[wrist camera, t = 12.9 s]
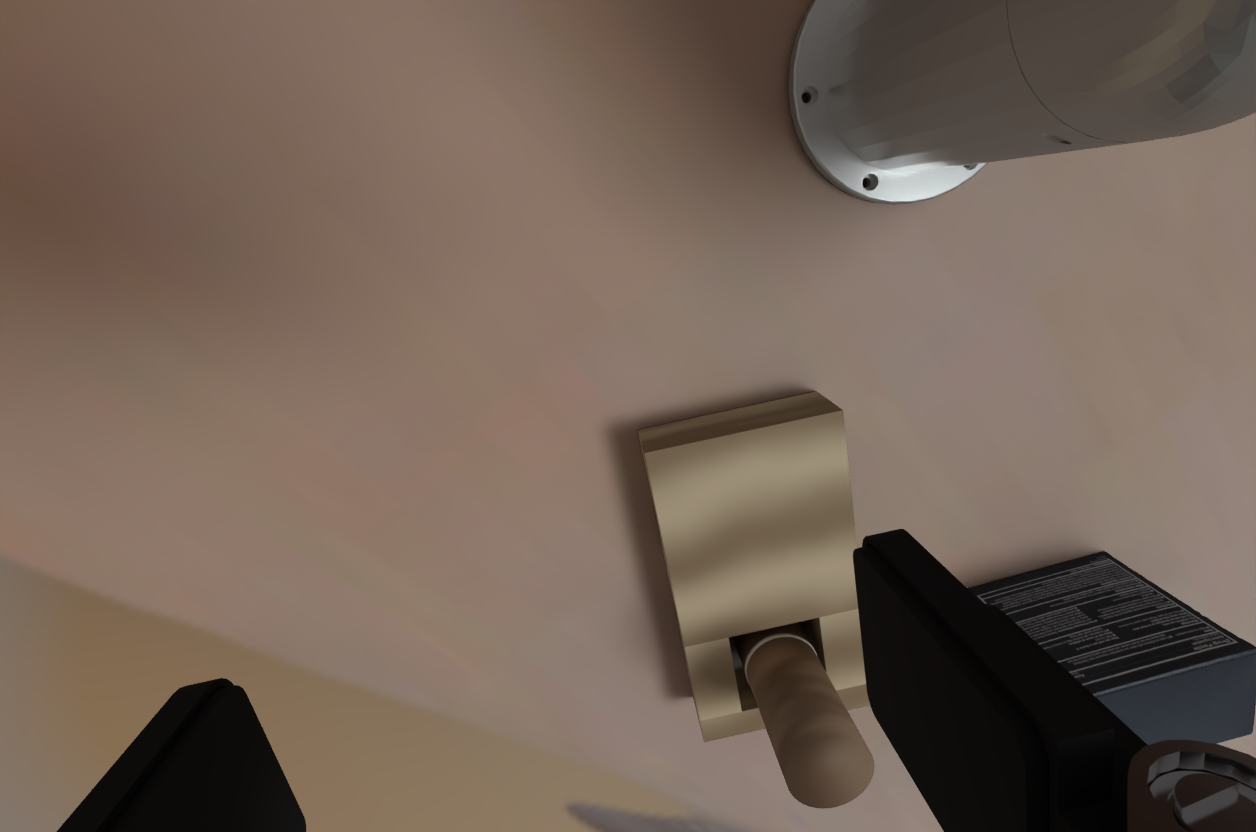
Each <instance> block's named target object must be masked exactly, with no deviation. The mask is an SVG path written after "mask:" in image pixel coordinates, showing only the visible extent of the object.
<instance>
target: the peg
mask: <svg viewBox="0 0 1256 832" xmlns="http://www.w3.org/2000/svg"><path fill="white" fill-rule="evenodd" d="M732 638H733V641H734V644H735V646H736V649H737V652H738V655H739V657H740V660H741V663H742V665H743V668H744V671H745V675H746V678H747V681H748V683H749V685H750V687H751V689H752V692H753V695H754V698H755V700H756V703H757V706H758V708H759V711H760V714H761V716H762V719H763V722H764V724H765V727H766V730H767V732H768V735H769V738H770V740H771V743H772V746H773V749H774V751H775V754H776V757H777V759H778V762H779V765H780V767H781V770H782V773H783V775H784V778H785V781H786V783H787V786H788V789H789V791H790V792H791V794H792V795H793V796H794V798H795V799H797V800H798V801H799V802H801V803H803V804H805V805H807V806H810V807H815V808H832V807H837V806H840V805H843V804H846V803H848V802H850V801H852V800H853V799H855V798H856V797H857V796H859V795H860V794H861V793H862V792H863V791H864V790H865V789H866V787H867V786H868V785H869V783H870V781H871V779H872V776H873V773H874V760H873V757H872V754H871V752H870V751H869V749H868V747H867V745H866V743H865V742H864V740H863V738H862V736H861V734H860V733H859V731H858V729H857V727H856V725H855V724H854V722H853V720H852V718H851V716H850V715H849V713H848V711H847V709H846V707H845V706H844V704H843V702H842V700H841V698H840V697H839V695H838V693H837V691H836V689H835V688H834V686H833V684H832V682H831V680H830V679H829V677H828V675H827V673H826V671H825V670H824V668H823V666H822V664H821V662H820V661H819V659H818V656H817V654H816V652H815V650H814V648H813V646H812V645H811V644H810V643H809V641H808V639H807V637H806V635H805V633H804V632H803V630H802V628H801V626H800V624H799V623H798V622H796V623H792V624H787V625H783V626H778V627H774V628H769V629H765V630H760V631H756V632H751V633H747V634H742V635H738V636H733V637H732Z"/></svg>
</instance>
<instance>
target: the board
mask: <svg viewBox="0 0 1256 832" xmlns="http://www.w3.org/2000/svg"><path fill="white" fill-rule="evenodd" d="M638 434H639V439H640V444H641V449H642V454H643V458H644V463H645V468H646V473H647V478H648V482H649V487H650V492H651V497H652V502H653V506H654V511H655V516H656V521H657V526H658V531H659V535H660V540H661V545H662V550H663V555H664V559H665V564H666V569H667V574H668V579H669V583H670V588H671V593H672V598H673V603H674V607H675V612H676V617H677V622H678V627H679V631H680V636H681V641H682V646H683V651H684V656H685V660H686V665H687V670H688V675H689V680H690V684H691V689H692V694H693V699H694V703H695V707H696V711H697V715H698V719H699V723H700V727H701V731H702V735H703V740H704V742H707V741H712V740H716V739H721V738H725V737H730V736H734V735H739V734H743V733H748V732H752V731H757V730H761V729H766V727H765V724H764V722H763V719H762V716H761V714H760V711H759V708H758V706H757V703H756V700H755V698H754V695H753V692H752V689H751V687H750V685H749V683H748V681H747V678H746V675H745V671H744V668H743V665H742V663H741V660H740V657H739V655H738V652H737V649H736V646H735V644H734V641H733V638H732V637H733V636H738V635H742V634H747V633H751V632H756V631H760V630H765V629H769V628H774V627H778V626H783V625H787V624H792V623H796V622H798V623H799V624H800V626H801V628H802V630H803V632H804V633H805V635H806V637H807V639H808V641H809V643H810V644H811V645H812V646H813V648H814V650H815V652H816V654H817V656H818V659H819V661H820V662H821V664H822V666H823V668H824V670H825V671H826V673H827V675H828V677H829V679H830V680H831V682H832V684H833V686H834V688H835V689H836V691H837V693H838V695H839V697H840V698H841V700H842V702H843V704H844V706H845V707H846V709H847V710H851V709H855V708H860V707H864V706H868V705H870V702H869V699H868V694H867V688H866V678H865V669H864V659H863V650H862V640H861V631H860V621H859V612H858V602H857V593H856V583H855V574H854V564H853V551H854V550H855V549H857V543H856V534H855V524H854V514H853V505H852V495H851V485H850V475H849V466H848V456H847V446H846V436H845V427H844V417H843V410H842V409H840V408H839V407H838V406H836V405H835V404H833V403H832V402H831V401H829V400H828V399H827V398H825V397H824V396H822V395H821V394H820V393H818V392H817V391H815V392H811V393H806V394H802V395H797V396H792V397H788V398H783V399H778V400H774V401H769V402H765V403H760V404H755V405H751V406H746V407H741V408H737V409H732V410H728V411H723V412H718V413H714V414H709V415H704V416H700V417H695V418H691V419H686V420H681V421H677V422H672V423H668V424H663V425H658V426H654V427H649V428H644V429H640V430H638Z"/></svg>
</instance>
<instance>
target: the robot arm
mask: <svg viewBox="0 0 1256 832" xmlns="http://www.w3.org/2000/svg"><path fill="white" fill-rule="evenodd" d="M788 88H789V103H790V111H791V115H792V119H793V123H794V127H795V131H796V133H797V136H798V138H799V140H800V142H801V144H802V147H803V149H804V151H805V153H806V154H807V156H808V157H809V159H810V160H811V161H812V163H813V164H814V166H815V167H816V168H817V170H818V171H819V172H820V173H821V174H822V175H823V176H825V177H826V178H827V179H828V180H829V181H830V182H831V183H832V184H833V185H834V186H836V187H838V188H840V189H841V190H843V191H845V192H846V193H848V194H850V195H852V196H854V197H857V198H860V199H863V200H867V201H870V202H874V203H885V204H906V203H915V202H919V201H924V200H929V199H933V198H935V197H938V196H940V195H942V194H945V193H947V192H949V191H952V190H954V189H955V188H957V187H958V186H960V185H961V184H963V183H964V182H966V181H968V180H969V179H971V178H972V177H973V176H975V175H976V174H977V173H978V172H979V171H980V170H981V169H982V168H983V167H984V166H985V165H986V164H987V163H989V162H994V161H1002V160H1009V159H1016V158H1024V157H1031V156H1039V155H1046V154H1054V153H1061V152H1068V151H1076V150H1083V149H1091V148H1098V147H1105V146H1113V145H1120V144H1128V143H1135V142H1142V141H1150V140H1155V139H1162V138H1169V137H1176V136H1183V135H1187V134H1192V133H1196V132H1201V131H1205V130H1209V129H1213V128H1216V127H1219V126H1222V125H1225V124H1228V123H1231V122H1234V121H1236V120H1239V119H1242V118H1244V117H1246V116H1249V115H1251V114H1253V113H1255V112H1256V0H813V2H812V3H811V5H810V6H809V8H808V10H807V12H806V14H805V17H804V19H803V21H802V23H801V25H800V28H799V30H798V32H797V36H796V40H795V43H794V47H793V51H792V54H791V59H790V69H789V79H788ZM802 94H806V95H807V96H808V102H807V103H803V101H802V98H801V96H802ZM864 178H865V179H866V180H867V186H866V187H865V188H863V185H862V182H863V179H864ZM862 546H863V547H861V548H857V549H855V550H854V551H853V564H854V574H855V583H856V593H857V602H858V612H859V621H860V631H861V640H862V650H863V659H864V669H865V678H866V688H867V694H868V699H869V702H870V705H871V708H872V711H873V713H874V715H875V717H876V719H877V721H878V722H879V724H880V726H881V727H882V729H883V731H884V732H885V734H886V736H887V737H888V739H889V741H890V742H891V744H892V746H893V747H894V749H895V751H896V752H897V754H898V756H899V757H900V759H901V761H902V762H903V764H904V766H905V767H906V769H907V771H908V772H909V774H910V776H911V777H912V779H913V781H914V782H915V784H916V786H917V787H918V789H919V791H920V792H921V794H922V796H923V797H924V799H925V801H926V802H927V804H928V806H929V807H930V809H931V811H932V812H933V814H934V816H935V817H936V819H937V821H938V822H939V824H940V826H941V827H942V829H943V831H944V832H1256V758H1254V757H1252V756H1250V755H1248V754H1245V753H1242V752H1239V751H1236V750H1233V749H1230V748H1227V747H1224V746H1221V745H1218V744H1213V743H1207V742H1201V741H1195V740H1163V741H1160V742H1157V743H1154V744H1151V745H1147V744H1146V743H1145V742H1144V741H1143V740H1142V739H1141V738H1140V737H1139V736H1138V735H1136V734H1135V733H1134V732H1133V731H1132V730H1131V729H1130V728H1129V727H1128V726H1127V725H1126V724H1125V723H1123V722H1122V721H1121V720H1120V719H1119V718H1118V717H1117V716H1116V715H1115V714H1114V713H1113V712H1112V711H1110V710H1109V709H1108V708H1107V707H1106V706H1105V705H1104V704H1103V703H1102V702H1101V701H1100V700H1098V699H1097V698H1096V697H1095V696H1094V695H1093V694H1092V693H1091V692H1090V691H1089V690H1088V689H1087V688H1085V687H1084V686H1083V685H1082V684H1081V683H1080V682H1079V681H1078V680H1077V679H1076V678H1075V677H1074V676H1072V675H1071V674H1070V673H1069V672H1068V671H1067V670H1066V669H1065V668H1064V667H1063V666H1062V665H1061V664H1059V663H1058V662H1057V661H1056V660H1055V659H1054V658H1053V657H1052V656H1051V655H1050V654H1049V653H1048V652H1046V651H1045V650H1044V649H1043V648H1042V647H1041V646H1040V645H1039V644H1038V643H1037V642H1036V641H1034V640H1033V639H1032V638H1031V637H1030V636H1029V635H1028V634H1027V633H1026V632H1025V631H1024V630H1023V629H1021V628H1020V627H1019V626H1018V625H1017V624H1016V623H1015V622H1014V621H1013V620H1012V619H1011V618H1010V617H1008V616H1007V615H1006V614H1005V613H1004V612H1003V611H1002V610H1000V609H999V608H997V607H996V606H995V605H991V604H983V603H982V602H981V601H980V600H979V599H978V598H977V597H976V596H974V595H973V594H972V593H971V592H970V591H969V590H968V589H967V588H966V587H965V586H964V585H963V584H962V583H961V582H960V581H959V580H958V579H957V578H955V577H954V576H953V575H952V574H951V573H950V572H949V571H948V570H947V569H946V568H945V567H944V566H943V565H942V564H941V563H940V562H939V561H938V560H936V559H935V558H934V557H933V556H932V555H931V554H930V553H929V552H928V551H927V550H926V549H925V548H924V547H923V546H922V545H921V544H920V543H919V542H917V541H916V540H915V539H914V538H913V537H912V536H911V535H910V534H909V533H908V532H907V531H905V530H904V529H898V530H893V531H889V532H884V533H879V534H875V535H870V536H866V537H865V538H864V539H863V544H862ZM57 832H306V822H305V818H304V816H303V814H302V811H301V809H300V808H299V805H298V803H297V801H296V799H295V796H294V794H293V792H292V790H291V788H290V786H289V784H288V781H287V779H286V777H285V775H284V773H283V771H282V769H281V767H280V764H279V762H278V760H277V758H276V756H275V754H274V752H273V750H272V748H271V745H270V743H269V741H268V739H267V737H266V735H265V733H264V731H263V728H262V726H261V724H260V722H259V720H258V718H257V716H256V713H255V711H254V709H253V707H252V705H251V703H250V701H249V698H248V696H247V694H246V692H245V691H244V689H243V688H241V687H240V686H236V685H235V686H234V685H233V684H232V682H230V681H229V680H227V679H223V678H220V679H215V680H211V681H206V682H202V683H197V684H193V685H188V686H185V687H182V688H179V689H178V690H177V691H176V692H175V693H174V694H173V695H172V696H171V697H170V698H169V700H168V701H167V702H166V703H165V705H164V706H163V707H162V708H161V709H160V710H159V712H158V713H157V714H156V715H155V716H154V717H153V718H152V720H151V721H150V722H149V723H148V725H147V726H146V727H145V728H144V729H143V730H142V731H141V733H140V734H139V735H138V736H137V737H136V739H135V740H134V741H133V742H132V743H131V745H130V746H129V747H128V748H127V749H126V750H125V752H124V753H123V754H122V755H121V756H120V758H119V759H118V760H117V761H116V762H115V763H114V765H113V766H112V767H111V768H110V769H109V771H108V772H107V773H106V774H105V775H104V776H103V778H102V779H101V780H100V781H99V782H98V784H97V785H96V786H95V787H94V788H93V789H92V791H91V792H90V793H89V794H88V795H87V797H86V798H85V799H84V800H83V801H82V802H81V804H80V805H79V806H78V807H77V808H76V810H75V811H74V812H73V813H72V814H71V815H70V817H69V818H68V819H67V820H66V821H65V822H64V824H63V825H62V826H61V827H60V829H59V830H58V831H57Z"/></svg>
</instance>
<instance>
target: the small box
mask: <svg viewBox="0 0 1256 832" xmlns="http://www.w3.org/2000/svg"><path fill="white" fill-rule="evenodd" d="M968 590H969V591H970V592H971V593H972V594H973V595H974V596H976V597H977V598H978V599H979V600H980V601H981V602H982V603H983V604H991V605H995V606H996V607H997V608H999V609H1000V610H1002V611H1003V612H1004V613H1005V614H1006V615H1007V616H1008V617H1010V618H1011V619H1012V620H1013V621H1014V622H1015V623H1016V624H1017V625H1018V626H1019V627H1020V628H1021V629H1023V630H1024V631H1025V632H1026V633H1027V634H1028V635H1029V636H1030V637H1031V638H1032V639H1033V640H1034V641H1036V642H1037V643H1038V644H1039V645H1040V646H1041V647H1042V648H1043V649H1044V650H1045V651H1046V652H1048V653H1049V654H1050V655H1051V656H1052V657H1053V658H1054V659H1055V660H1056V661H1057V662H1058V663H1059V664H1061V665H1062V666H1063V667H1064V668H1065V669H1066V670H1067V671H1068V672H1069V673H1070V674H1071V675H1072V676H1074V677H1075V678H1076V679H1077V680H1078V681H1079V682H1080V683H1081V684H1082V685H1083V686H1084V687H1085V688H1087V689H1088V690H1089V691H1090V692H1091V693H1092V694H1093V695H1094V696H1095V697H1096V698H1097V699H1098V700H1100V701H1101V702H1102V703H1103V704H1104V705H1105V706H1106V707H1107V708H1108V709H1109V710H1110V711H1112V712H1113V713H1114V714H1115V715H1116V716H1117V717H1118V718H1119V719H1120V720H1121V721H1122V722H1123V723H1125V724H1126V725H1127V726H1128V727H1129V728H1130V729H1131V730H1132V731H1133V732H1134V733H1135V734H1136V735H1138V736H1139V737H1140V738H1141V739H1142V740H1143V741H1144V742H1145V743H1146V744H1147V745H1151V744H1154V743H1157V742H1160V741H1163V740H1195V741H1201V742H1207V743H1213V744H1217V743H1220V742H1224V741H1227V740H1231V739H1235V738H1238V737H1242V736H1246V735H1249V734H1251V733H1252V731H1253V725H1254V716H1255V705H1256V647H1255V646H1253V645H1252V644H1250V643H1249V642H1247V641H1245V640H1243V639H1241V638H1239V637H1237V636H1236V635H1234V634H1233V633H1231V632H1229V631H1228V630H1226V629H1224V628H1222V627H1221V626H1219V625H1217V624H1216V623H1214V622H1213V621H1211V620H1210V619H1208V618H1207V617H1205V616H1202V615H1201V614H1200V613H1199V612H1197V611H1195V610H1194V609H1192V608H1191V607H1190V606H1188V605H1187V604H1185V603H1183V602H1182V601H1180V600H1178V599H1177V598H1175V597H1174V596H1172V595H1171V594H1169V593H1168V592H1166V591H1164V590H1163V589H1161V588H1160V587H1158V586H1157V585H1155V584H1154V583H1152V582H1150V581H1148V580H1147V579H1146V578H1144V577H1143V576H1141V575H1140V574H1138V573H1137V572H1135V571H1133V570H1132V569H1130V568H1128V567H1127V566H1126V565H1124V564H1123V563H1121V562H1120V561H1118V560H1117V559H1115V558H1113V557H1112V556H1111V555H1110V554H1108V553H1107V552H1102V553H1098V554H1095V555H1091V556H1087V557H1083V558H1080V559H1076V560H1073V561H1069V562H1066V563H1062V564H1058V565H1055V566H1051V567H1048V568H1044V569H1040V570H1036V571H1033V572H1029V573H1026V574H1022V575H1019V576H1015V577H1012V578H1008V579H1004V580H1001V581H997V582H993V583H989V584H986V585H983V586H979V587H975V588H972V589H968Z"/></svg>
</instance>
